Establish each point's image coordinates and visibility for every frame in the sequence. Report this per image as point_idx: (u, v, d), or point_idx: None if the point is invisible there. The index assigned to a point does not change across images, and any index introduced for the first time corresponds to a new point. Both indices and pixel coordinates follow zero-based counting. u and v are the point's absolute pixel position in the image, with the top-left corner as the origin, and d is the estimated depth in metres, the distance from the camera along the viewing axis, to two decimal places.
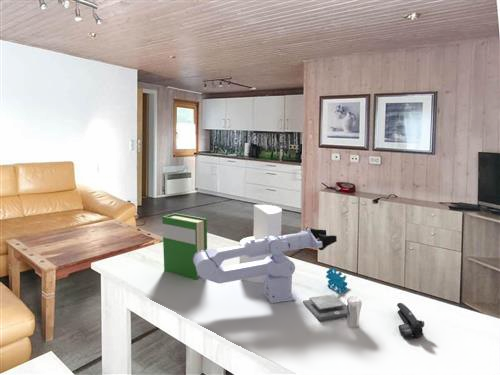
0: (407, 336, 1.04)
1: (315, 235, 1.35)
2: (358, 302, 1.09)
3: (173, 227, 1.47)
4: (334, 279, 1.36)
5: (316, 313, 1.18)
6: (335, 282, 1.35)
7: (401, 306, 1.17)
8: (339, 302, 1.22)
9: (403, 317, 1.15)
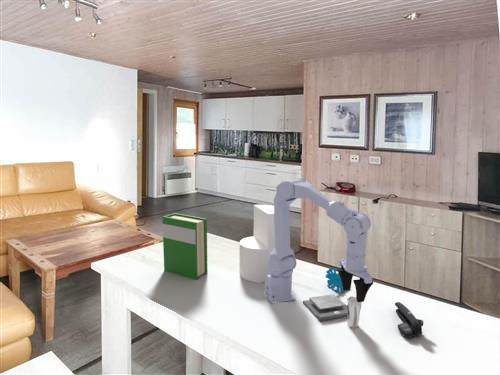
0: (407, 335, 1.05)
1: (346, 277, 1.13)
2: (358, 302, 1.09)
3: (173, 227, 1.47)
4: (334, 279, 1.36)
5: (316, 313, 1.18)
6: (334, 282, 1.35)
7: (399, 305, 1.17)
8: (339, 302, 1.22)
9: (401, 316, 1.15)
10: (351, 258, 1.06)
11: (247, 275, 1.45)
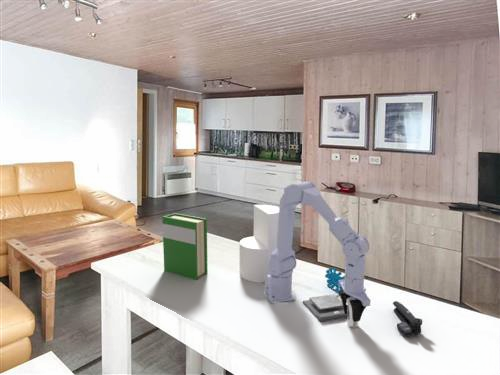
0: (407, 334, 1.05)
1: None
2: None
3: (173, 227, 1.47)
4: (333, 279, 1.36)
5: (316, 313, 1.18)
6: (334, 282, 1.35)
7: (397, 304, 1.18)
8: (339, 302, 1.22)
9: (400, 315, 1.16)
10: (350, 280, 1.08)
11: (247, 275, 1.45)
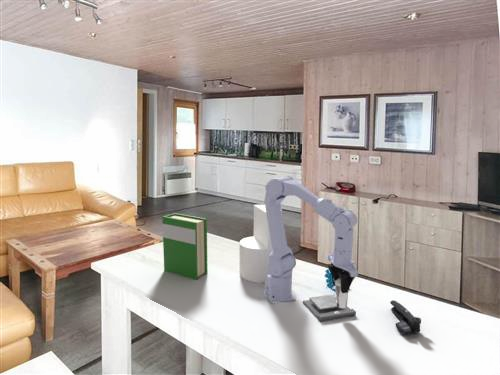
0: (406, 334, 1.06)
1: (336, 273, 1.17)
2: None
3: (173, 227, 1.47)
4: None
5: (316, 313, 1.18)
6: None
7: (395, 304, 1.18)
8: None
9: (398, 314, 1.16)
10: (338, 253, 1.11)
11: (247, 275, 1.45)
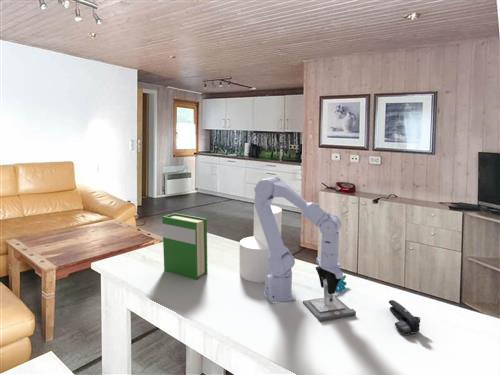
0: (406, 333, 1.06)
1: (324, 275, 1.23)
2: None
3: (173, 227, 1.47)
4: None
5: (316, 313, 1.18)
6: None
7: (394, 303, 1.19)
8: (339, 305, 1.22)
9: (397, 314, 1.17)
10: (325, 256, 1.18)
11: (247, 275, 1.45)
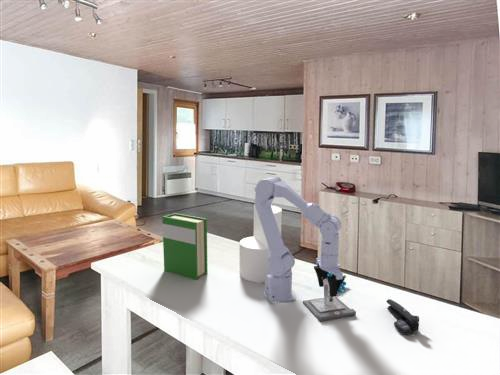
0: (406, 332, 1.06)
1: (322, 274, 1.25)
2: None
3: (173, 227, 1.47)
4: None
5: (316, 313, 1.18)
6: None
7: (392, 303, 1.19)
8: (339, 305, 1.22)
9: (395, 313, 1.17)
10: (325, 257, 1.18)
11: (247, 275, 1.45)
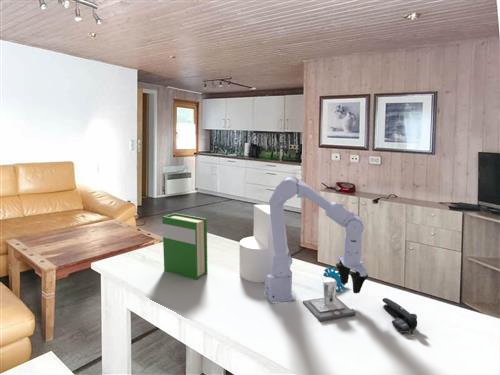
0: (405, 331, 1.07)
1: (344, 271, 1.27)
2: (333, 282, 1.20)
3: (173, 227, 1.47)
4: None
5: (316, 313, 1.18)
6: None
7: (388, 301, 1.20)
8: (339, 305, 1.22)
9: (392, 312, 1.18)
10: (348, 254, 1.20)
11: (247, 275, 1.45)
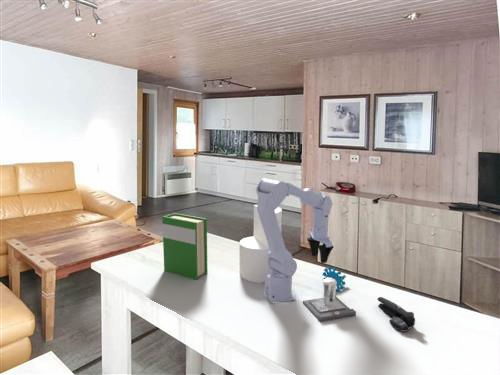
0: (403, 329, 1.08)
1: (314, 245, 1.43)
2: (333, 282, 1.20)
3: (173, 227, 1.47)
4: (331, 277, 1.37)
5: (316, 313, 1.18)
6: None
7: (384, 300, 1.21)
8: (339, 305, 1.22)
9: (388, 311, 1.19)
10: (316, 228, 1.36)
11: (247, 275, 1.45)
